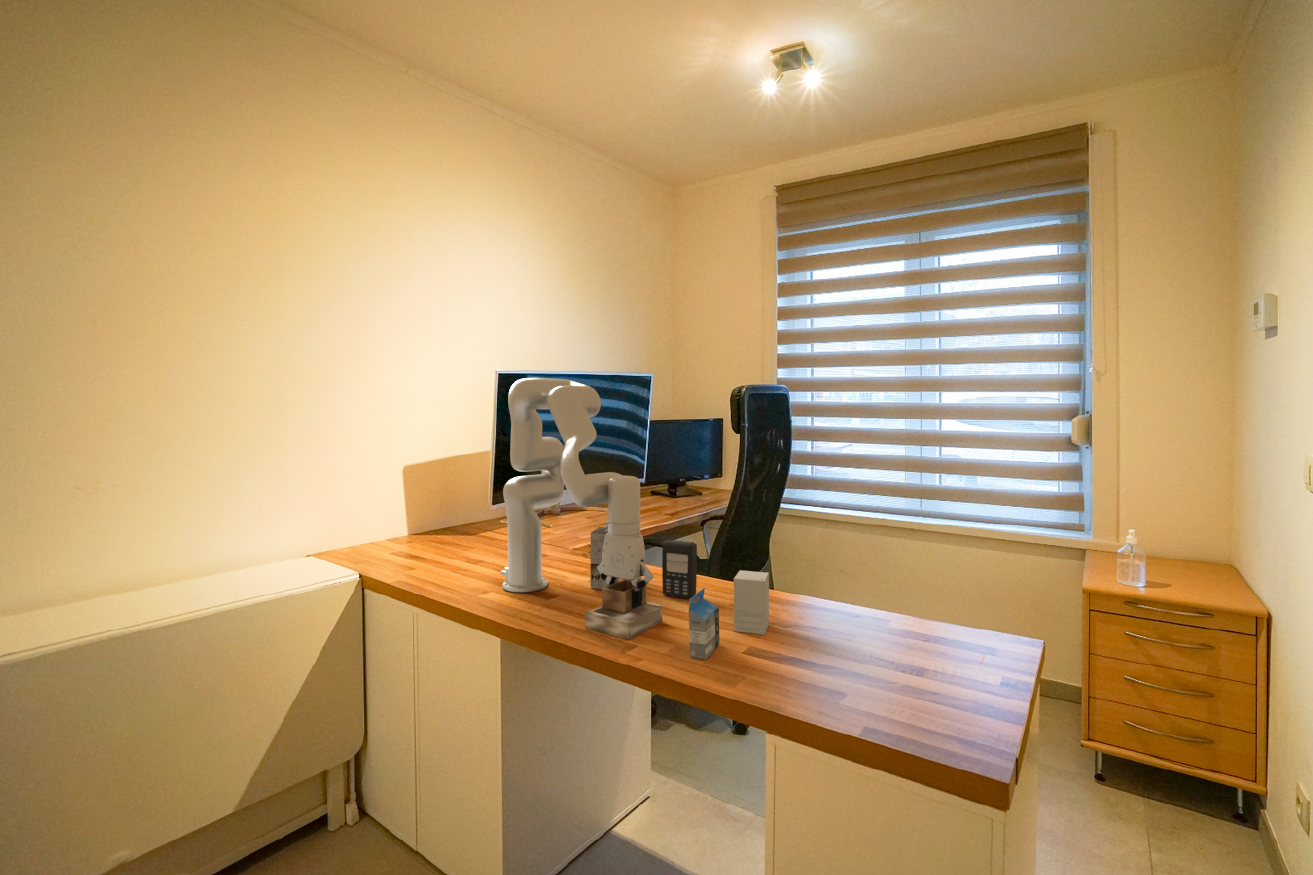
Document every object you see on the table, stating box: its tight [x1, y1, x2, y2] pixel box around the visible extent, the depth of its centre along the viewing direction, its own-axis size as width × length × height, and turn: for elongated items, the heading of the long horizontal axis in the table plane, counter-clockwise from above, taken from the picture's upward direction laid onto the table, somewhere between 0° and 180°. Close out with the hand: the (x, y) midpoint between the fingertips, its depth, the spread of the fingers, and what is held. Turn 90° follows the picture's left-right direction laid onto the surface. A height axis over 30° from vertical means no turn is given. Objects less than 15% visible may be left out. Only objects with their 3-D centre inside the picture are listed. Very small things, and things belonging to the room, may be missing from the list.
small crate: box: [601, 579, 648, 615], centre depth 143 cm, size 6×9×5 cm
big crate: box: [584, 601, 663, 641], centre depth 143 cm, size 13×14×4 cm
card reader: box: [661, 539, 698, 600], centre depth 164 cm, size 9×4×15 cm, turn 67°
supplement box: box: [733, 569, 770, 636], centre depth 141 cm, size 7×7×13 cm
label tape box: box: [688, 587, 720, 660], centre depth 128 cm, size 9×4×12 cm, turn 155°
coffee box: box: [589, 526, 620, 590], centre depth 174 cm, size 9×6×16 cm
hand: (624, 602), depth 143 cm, fingers closed on small crate, 6 cm apart
